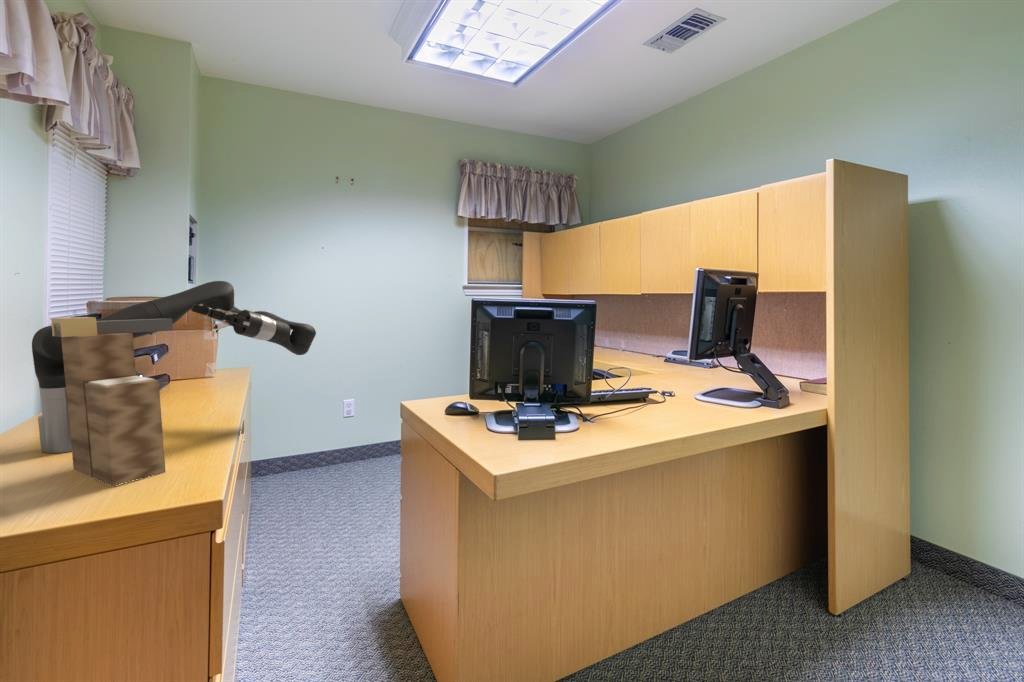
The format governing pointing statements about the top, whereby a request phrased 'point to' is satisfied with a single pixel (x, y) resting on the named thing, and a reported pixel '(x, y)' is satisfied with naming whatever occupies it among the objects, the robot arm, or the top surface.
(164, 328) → the bar
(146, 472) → the brown stepped block
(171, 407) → the top surface
